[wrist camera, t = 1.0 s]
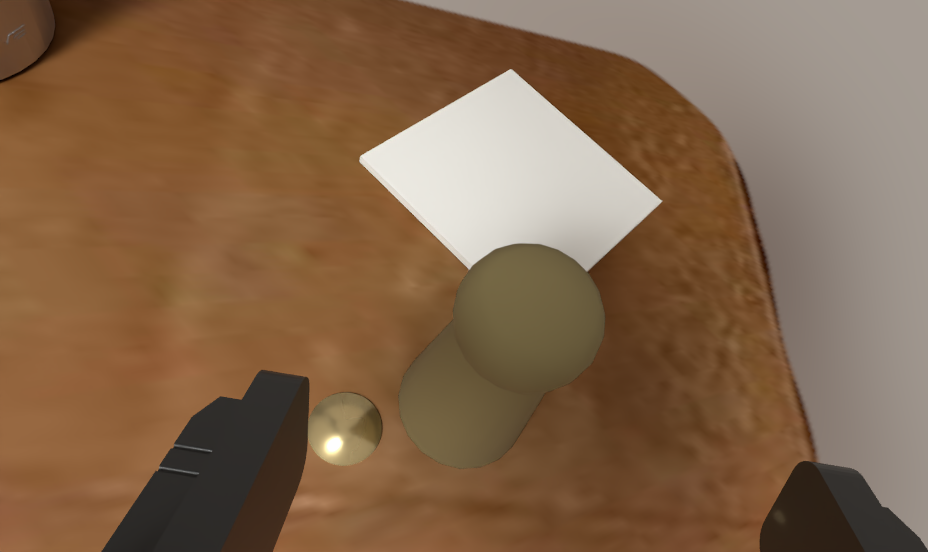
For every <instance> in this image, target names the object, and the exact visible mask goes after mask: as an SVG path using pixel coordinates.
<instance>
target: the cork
mask: <svg viewBox="0 0 928 552" xmlns="http://www.w3.org/2000/svg"><path fill="white" fill-rule="evenodd" d="M604 329H605V313H604V308H603V304H602V300H601V296H600V292H599V290H598V288H597V287H596V285H595V283H594V281H593V280H592V278H591V276H590V275H589V273H588V272H587V271H586V270H585V269H584V268H583V267H582V266H581V265H580V264H579V263H578V262H577V261H576V260H574V259H573V258H571V257H569V256H568V255H566V254H564V253H563V252H561V251H560V250H558V249H554V248H551V247H548V246H545V245H541V244H527V243H518V244H511V245H508V246H504V247H501V248H497V249H494V250H493V251H492V252H490V253H489V254H487V255H486V256H484V257H483V258H482V259H480V260H479V261H478V262H476V263H475V264H474V265H473V266H472V267H471V268H470V270H469V271H468V273H467V274H466V276H465V277H464V279H463V280H462V282H461V284H460V286H459V288H458V290H457V294H456V299H455V303H454V308H453V320H452V321H451V322H450V323H449V324H448V325H447V326H446V328H445V329H444V330H443V331H442V332H441V333H440V334H439V335H438V336H437V337H436V338H435V339H434V340H433V341H432V342H431V343H430V344H429V345H428V346H427V348H426V349H425V350H424V351H423V352H422V353H421V354H420V355H419V356H418V357H417V358H416V359H415V360H414V361H413V363H412V364H411V366H410V367H409V369H408V370H407V372H406V373H405V375H404V376H403V380H402V384H401V388H400V391H399V395H398V396H399V410H400V417H401V420H402V422H403V424H404V427H405V429H406V432H407V434H408V436H409V437H410V438H411V440H412V441H413V442H414V443H415V444H416V446H417V447H418V448H419V449H420V450H421V452H423V453H424V454H426V455H428V456H429V457H431V458H432V459H434V460H435V461H437V462H438V463H440V464H444V465H448V466H452V467H456V468H459V469H464V468H477V467H482V466H485V465H487V464H489V463H492V462H494V461H496V460H498V459H500V458H501V457H502V456H503V455H504V454H505V453H506V452H507V451H508V450H509V449H510V448H511V447H512V446H513V445H514V443H515V442H516V440H517V438H518V437H519V435H520V433H521V432H522V430H523V428H524V427H525V425H526V424H527V422H528V420H529V419H530V417H531V415H532V414H533V412H534V410H535V409H536V407H537V406H538V404H539V402H540V401H541V399H542V397H543V396H544V394H545V392H549V391H552V390H554V389H557V388H559V387H562V386H564V385H567V384H569V383H571V382H572V381H573V380H574V379H576V378H577V377H578V376H579V375H580V374H581V373H582V372H583V371H584V370H585V369H586V368H587V367H588V366H590V365H591V364H592V362H593V360H594V358H595V356H596V353H597V351H598V349H599V347H600V345H601V342H602V340H603V338H604Z"/></svg>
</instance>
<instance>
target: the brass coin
mask: <svg viewBox="0 0 928 552" xmlns="http://www.w3.org/2000/svg"><path fill="white" fill-rule="evenodd" d="M381 433H382V423H381V418H380V415H379V413H378V411H377V409H376V408H375V407H374V405H373V404H372V403H371V402H370V401H369V400H367V399H366V398H364V397H362V396H360V395H357V394H353V393H337V394H334V395H331V396H329V397H327V398H325V399H324V400H322V401H321V402H320V403H319V404H318V405H317V406H316V407H315V408H314V410H313V411H312V413H311V415H310V418H309V421H308V439H309V442H310V445H311V447H312V448H313V450H314V451H315V453H316V454H317V455H318V456H319V457H320V458H322V459H323V460H325V461H327V462H328V463H331V464H334V465H340V466H347V465H353V464H356V463H359V462H361V461H363V460H365V459H366V458H367V457H369V456H370V455H371V454H372V453H373V451H374V450H375V449H376V447H377V445H378V443H379V441H380V438H381Z"/></svg>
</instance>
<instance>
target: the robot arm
mask: <svg viewBox="0 0 928 552" xmlns="http://www.w3.org/2000/svg"><path fill="white" fill-rule="evenodd" d="M54 30H55V20H54V14H53V11H52V8H51V5H50V2H49V0H0V80H2V79H4V78H6V77H9V76H11V75H13V74H15V73H18V72H20V71H22V70H23V69H24V68H26V67H27V66H29V65H30V64H32V63H33V62H35V61H36V60H37V59H38V58H39V57H40V56H41V55H42V54H43V53H44V52H45V51H46V50H47V48H48V46H49V44H50V42H51V40H52V39H53V36H54ZM308 413H309V379H308V378H307V377H303V376H297V375H291V374H285V373H279V372H273V371H267V370H261V371H259V373H258V374H257V375H256V377H255V378H254V380H253V382H252V383H251V385H250V387H249V389H248V390H247V392H246V394H245V395H244V397H243V399H242V400H239V399H233V398H227V397H221V396H220V397H219V398H218V399H216V400H215V401H213V402H212V403H211V404H209V405H208V406H206V407H205V408H204V409H202V410H201V411H199V412H198V413H197V414H195V415H194V416H193V417H192V418H191V419H190V421H189V422H188V424H187V425H186V427H185V428H184V430H183V431H182V433H181V434H180V436H179V437H178V439H177V440H176V442H175V443H174V448H173V449H170V451H169V452H168V453H167V455H166V456H165V458H164V459H163V461H162V462H161V464H160V467H159V470H158V471H155V473H154V474H153V476H152V477H151V479H150V480H149V482H148V483H147V485H146V486H145V488H144V489H143V491H142V492H141V494H140V495H139V497H138V498H137V500H136V501H135V503H134V504H133V506H132V507H131V509H130V510H129V512H128V513H127V514H126V516H125V517H124V519H123V520H122V522H121V523H120V525H119V526H118V528H117V529H116V531H115V532H114V534H113V535H112V537H111V538H110V540H109V541H108V543H107V544H106V546H105V547H104V549H103V550H102V552H273V549H274V547H275V544H276V542H277V539H278V537H279V534H280V532H281V529H282V526H283V524H284V521H285V519H286V516H287V514H288V511H289V509H290V506H291V504H292V501H293V499H294V496H295V493H296V491H297V488H298V486H299V483H300V480H301V477H302V473H303V469H304V465H305V460H306V453H307V441H308ZM760 552H928V550H927V548H926V547H925V545H924V544H923V542H922V541H921V539H920V538H919V537H918V536H917V535H916V534H915V533H914V532H913V531H912V530H911V529H910V528H908V527H907V526H906V525H905V524H904V523H903V522H902V521H901V520H900V519H899V518H898V517H897V516H896V515H895V514H894V513H893V512H892V511H891V510H890V509H889V508H885V507H882V506H881V504H880V503H879V501H878V500H877V498H876V496H875V495H874V493H873V492H872V490H871V489H870V487H869V486H868V484H867V483H866V481H865V479H864V478H863V476H862V475H861V474H860V473H859V472H858V471H856V470H854V469H851V468H846V467H839V466H834V465H827V464H821V463H815V462H809V461H803V462H800V463H799V464H798V465H797V466H796V467H795V468H794V470H793V471H792V473H791V475H790V477H789V478H788V480H787V482H786V484H785V485H784V487H783V489H782V491H781V492H780V494H779V496H778V498H777V500H776V501H775V503H774V505H773V507H772V508H771V510H770V512H769V514H768V516H767V517H766V519H765V521H764V523H763V526H762V529H761V533H760Z"/></svg>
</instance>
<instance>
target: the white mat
mask: <svg viewBox="0 0 928 552" xmlns="http://www.w3.org/2000/svg"><path fill="white" fill-rule="evenodd" d="M360 163H361V164H362V165H363V166H364V167H365V168H366V169H367V170H368V171H369V172H370V173H371V174H372V175H373V176H374V177H375V178H377V179H378V180H379V181H380V182H381V183H382V184H383V185H384V186H385V187H386V188H387V189H388V190H389V191H390V192H391V193H392V194H393V195H394V196H395V197H396V198H397V199H398V200H399V201H400V202H401V203H402V204H403V205H404V206H405V207H406V208H407V209H408V210H409V211H410V212H411V213H412V214H413V215H414V216H415V217H416V218H417V219H418V220H419V221H420V222H421V223H422V224H423V225H424V226H425V227H426V228H427V229H428V230H429V231H430V232H432V233H433V234H434V235H435V236H436V237H437V238H438V239H439V240H440V241H441V242H442V243H443V244H444V245H445V246H446V247H447V248H448V249H449V250H450V251H451V252H452V253H453V254H454V255H455V256H456V257H457V258H458V259H459V260H460V261H461V262H462V263H463V264H464V265H465V266H466V267H467V268H468V269H469V270H470V268H471V267H472V266H473V265H474V264H475V263H476V262H478V261H479V260H480V259H482V258H483V257H484V256H486V255H487V254H489V253H490V252H492V251H493V250H494V249H497V248H501V247H504V246H508V245H511V244H518V243H527V244H541V245H545V246H548V247H551V248H554V249H558V250H560V251H561V252H563V253H564V254H566V255H568V256H569V257H571V258H573V259H574V260H576V261H577V262H578V263H579V264H580V265H581V266H582V267H583V268H584V269H585V270H586V271H587V272H588V271H589V270H590V269H591V268H592V267H593V266H594V265H595V264H596V263H597V262H598V261H600V260H601V259H602V258H603V257H604V256H605V255H606V254H607V253H608V252H609V251H610V250H611V249H612V248H614V247H615V246H616V245H617V244H618V243H619V242H620V241H621V240H622V239H623V238H624V237H625V236H626V235H627V234H629V233H630V232H631V231H632V230H633V229H634V228H635V227H636V226H637V225H638V224H639V223H640V222H641V221H643V220H644V219H645V218H646V217H647V216H648V215H649V214H650V213H651V212H652V211H653V210H654V209H655V208H656V207H658V206H659V204H660V203H661V202H662V201H661V200H660V199H659V198H658V197H657V196H656V195H655V194H653V193H652V192H651V191H650V190H649V189H648V188H647V187H645V186H644V185H643V184H642V183H641V182H640V181H639V180H637V179H636V178H635V177H634V176H633V175H632V174H631V173H629V172H628V171H627V170H626V169H625V168H624V167H623V166H621V165H620V164H619V163H618V162H617V161H616V160H615V159H613V158H612V157H611V156H610V155H609V154H608V153H607V152H605V151H604V150H603V149H602V148H601V147H600V146H599V145H597V144H596V143H595V142H594V141H593V140H592V139H591V138H589V137H588V136H587V135H586V134H585V133H584V132H583V131H581V130H580V129H579V128H578V127H577V126H576V125H575V124H573V123H572V122H571V121H570V120H569V119H568V118H567V117H565V116H564V115H563V114H562V113H561V112H560V111H559V110H557V109H556V108H555V107H554V106H553V105H552V104H551V103H549V102H548V101H547V100H546V99H545V98H544V97H543V96H541V95H540V94H539V93H538V92H537V91H536V90H535V89H533V88H532V87H531V86H530V85H529V84H528V83H527V82H525V81H524V80H523V79H522V78H521V77H520V76H519V75H517V74H516V73H515V72H514V71H513V70H512V69H510V70H508V71H507V72H505V73H503V74H501V75H500V76H498V77H496V78H495V79H493V80H491V81H489V82H488V83H486V84H484V85H482V86H481V87H479V88H477V89H475V90H474V91H472V92H470V93H469V94H467V95H465V96H463V97H462V98H460V99H458V100H456V101H455V102H453V103H451V104H450V105H448V106H446V107H444V108H443V109H441V110H439V111H437V112H436V113H434V114H432V115H430V116H429V117H427V118H425V119H424V120H422V121H420V122H418V123H417V124H415V125H413V126H411V127H410V128H408V129H406V130H405V131H403V132H401V133H399V134H398V135H396V136H394V137H392V138H391V139H389V140H387V141H385V142H384V143H382V144H380V145H379V146H377V147H375V148H373V149H372V150H370V151H368V152H366V153H365V154H363V155H361V156H360Z"/></svg>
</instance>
